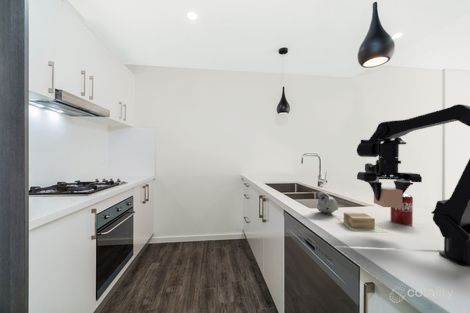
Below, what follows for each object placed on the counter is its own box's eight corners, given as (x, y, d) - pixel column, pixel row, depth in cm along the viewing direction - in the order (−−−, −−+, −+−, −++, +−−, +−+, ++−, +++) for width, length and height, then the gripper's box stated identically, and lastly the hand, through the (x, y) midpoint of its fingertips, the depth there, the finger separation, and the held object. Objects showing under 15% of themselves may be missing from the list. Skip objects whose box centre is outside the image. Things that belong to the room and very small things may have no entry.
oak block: (374, 229, 78) (374, 218, 78) (352, 228, 79) (352, 218, 79) (363, 222, 86) (363, 212, 86) (343, 221, 87) (343, 212, 87)
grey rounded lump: (343, 218, 92) (341, 191, 94) (321, 218, 93) (320, 191, 95) (333, 216, 102) (332, 191, 104) (314, 215, 103) (313, 191, 105)
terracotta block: (402, 207, 71) (402, 190, 71) (383, 207, 71) (383, 189, 71) (390, 203, 77) (391, 187, 77) (373, 202, 77) (374, 186, 77)
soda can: (416, 227, 82) (417, 197, 82) (396, 225, 84) (396, 196, 84) (405, 221, 90) (406, 193, 90) (387, 220, 91) (387, 193, 91)
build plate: (388, 234, 75) (388, 232, 75) (353, 232, 76) (353, 231, 76) (364, 220, 91) (364, 218, 91) (336, 219, 92) (336, 218, 92)
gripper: (400, 157, 81) (399, 196, 81) (350, 156, 83) (349, 195, 83) (423, 157, 70) (422, 203, 70) (365, 157, 72) (364, 202, 72)
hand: (387, 200), depth 74 cm, fingers closed on terracotta block, 6 cm apart
